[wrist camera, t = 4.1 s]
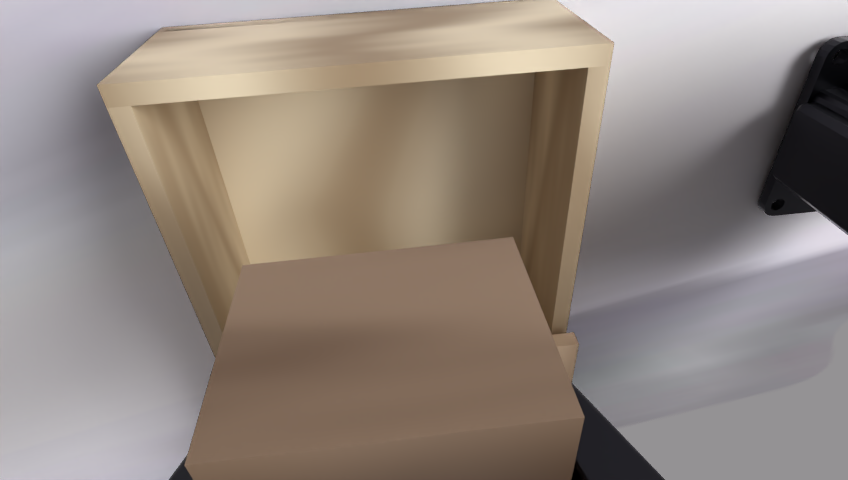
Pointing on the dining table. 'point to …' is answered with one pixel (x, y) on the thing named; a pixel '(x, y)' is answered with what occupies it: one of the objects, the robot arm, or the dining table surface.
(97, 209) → the dining table surface
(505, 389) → the block
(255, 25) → the wooden box
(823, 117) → the robot arm
